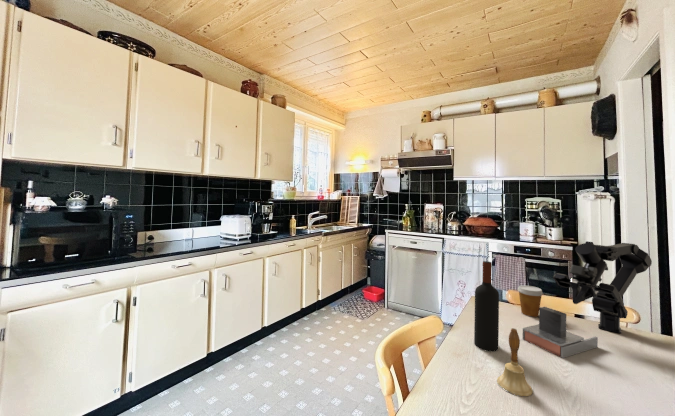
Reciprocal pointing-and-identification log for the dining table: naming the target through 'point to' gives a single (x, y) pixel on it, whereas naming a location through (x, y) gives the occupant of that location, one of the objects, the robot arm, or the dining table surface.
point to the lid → (553, 327)
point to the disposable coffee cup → (530, 300)
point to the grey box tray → (561, 350)
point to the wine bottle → (486, 312)
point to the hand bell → (514, 370)
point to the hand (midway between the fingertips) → (574, 303)
